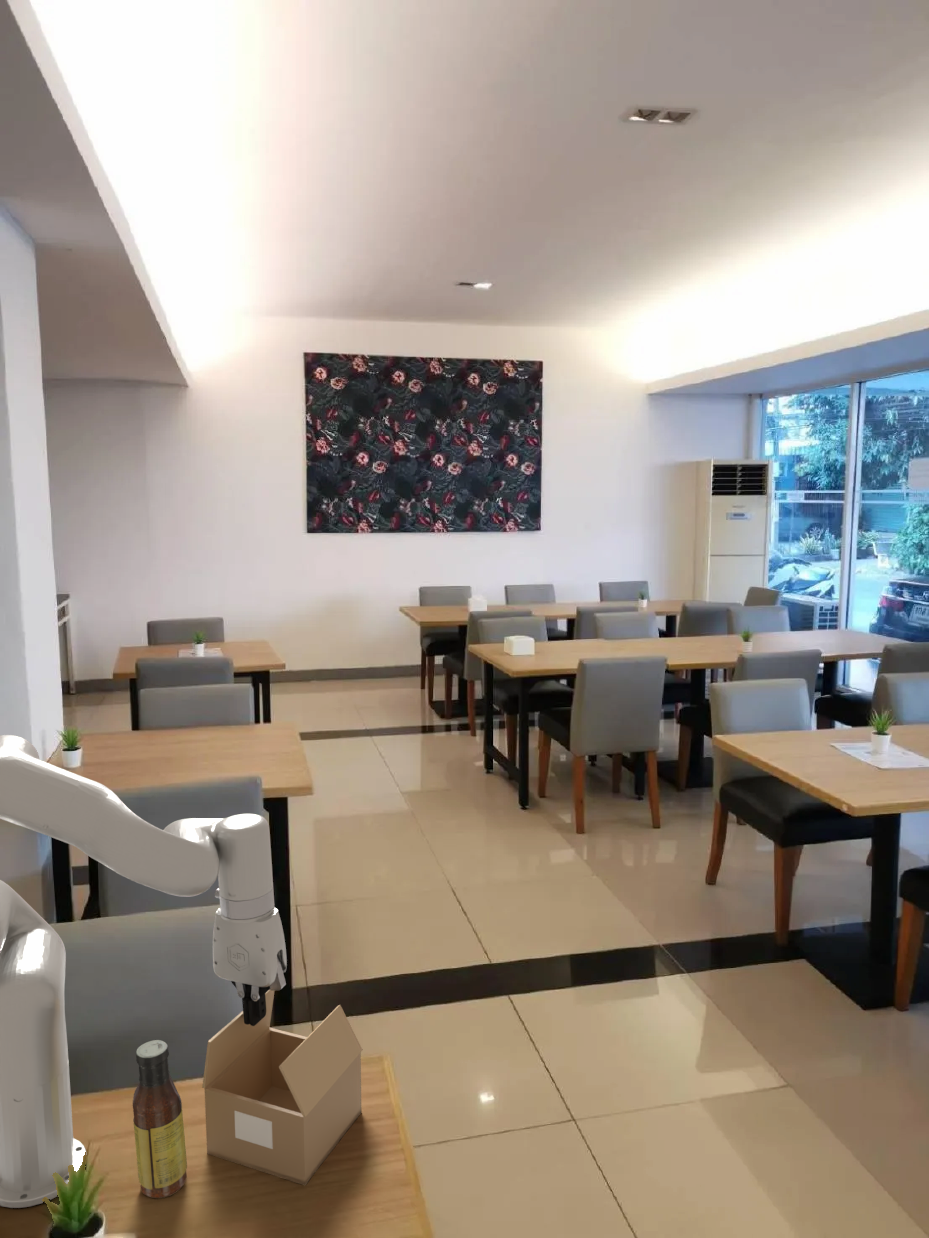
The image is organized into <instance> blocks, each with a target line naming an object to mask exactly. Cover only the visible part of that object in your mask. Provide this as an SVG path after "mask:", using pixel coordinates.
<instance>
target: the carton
mask: <svg viewBox="0 0 929 1238" xmlns="http://www.w3.org/2000/svg"><path fill="white" fill-rule="evenodd" d="M307 1037H308V1036H304V1035H300V1034H296V1033H293V1032H289V1031H284V1030H280V1029H277V1028H274V1027H273V1028H272V1027H269V1028H268V1029H267V1030H266V1031H265V1032H264V1033H263V1034H262V1035H261V1036H260V1037H259V1038H258V1039H257V1040H256V1041H255V1042H254V1043H252V1044H251V1045H250V1046H249V1047H248V1048H247V1049H246V1050H245V1051H244V1052H243V1053H242V1054H241V1055H240V1056H239V1057H238V1058H237V1059H235V1060H234V1061H233V1062H232V1063H231V1064H230V1065H229V1066H228V1067H227V1068H226V1069H225V1070H224V1071H223V1072H222V1073H221V1074H219V1075H218V1076H217V1077H216V1078H215V1079H214V1080H213V1081H212V1082H211V1083H210V1084H209V1085H208V1086H207V1087H206V1088H205V1089H204V1105H205V1106H204V1107H205V1109H204V1110H205V1134H206V1154H207V1155H210V1156H213V1157H216V1158H219V1159H222V1160H225V1161H228V1162H231V1163H235V1164H238V1165H240V1166H245V1167H247V1168H250V1169H253V1170H256V1171H259V1172H262V1173H264V1174H269V1175H272V1176H275V1177H277V1178H281V1179H284V1180H287V1181H290V1182H293V1183H297V1184H299V1185H303V1186H306V1185H307V1184H308V1182H309V1181H310V1180H311V1179H312V1177H313V1176H314V1174H315V1173H316V1172H317V1171H318V1169H319V1168H321V1166H322V1164H323V1163H324V1162H325V1160H326V1159H327V1158H328V1156H329V1155H330V1154H331V1152H333V1150H334V1149H335V1147H336V1146H337V1145H338V1144H339V1142H340V1141H341V1140H342V1138H343V1137H344V1136H345V1134H347V1131H349V1129H350V1128H351V1126H352V1125H354V1123H355V1121H356V1120H357V1118H359V1116H360V1115H361V1114H362V1112H363V1111H362V1058H361V1057H362V1056H361V1055H362V1054H361V1053H362V1052H361V1053H360V1054H359V1055H358V1056H357V1057H356V1058H355V1060H354V1061H353V1062H352V1063H351V1064H350V1065H349V1067H348V1068H347V1069H346V1070H345V1071H344V1073H343V1074H342V1075H341V1076H340V1077H339V1078H338V1080H337V1081H336V1082H335V1083H334V1084H333V1085H332V1087H331V1088H330V1089H329V1090H328V1091H327V1092H326V1094H325V1095H324V1096H323V1097H322V1098H321V1099H320V1101H319V1102H318V1103H317V1104H316V1105H315V1107H314V1108H313V1109H312V1110H311V1111H310V1112H309V1114H308V1115H307V1116H306V1117H304V1118H303V1115H302V1113H301V1111H300V1109H299V1107H298V1105H297V1103H296V1101H295V1099H294V1097H293V1095H292V1093H291V1091H290V1089H289V1087H288V1085H287V1083H286V1081H285V1079H284V1077H283V1075H282V1073H281V1071H280V1069H279V1066H280V1065H281V1064H282V1063H283V1062H284V1061H285V1060H286V1059H287V1058H288V1056H289V1055H290V1054H291V1053H292V1052H293V1051H294V1050H295V1049H296V1048H297V1047H298V1046H299V1045H300V1044H301V1043H302V1042H303V1041H304V1040H305V1039H306V1038H307Z"/></svg>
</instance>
